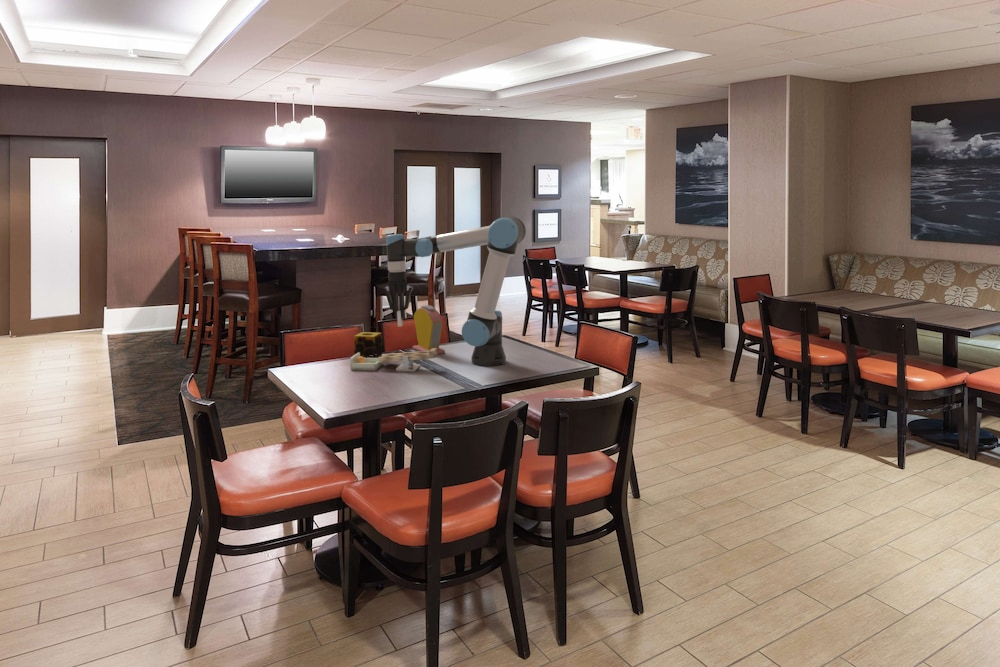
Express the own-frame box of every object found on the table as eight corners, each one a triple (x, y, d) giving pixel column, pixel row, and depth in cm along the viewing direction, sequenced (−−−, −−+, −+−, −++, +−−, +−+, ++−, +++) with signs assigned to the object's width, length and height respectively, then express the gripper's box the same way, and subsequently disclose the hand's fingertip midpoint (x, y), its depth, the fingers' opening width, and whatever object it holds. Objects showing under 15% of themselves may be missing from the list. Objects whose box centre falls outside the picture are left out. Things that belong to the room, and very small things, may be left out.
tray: (382, 364, 322) (382, 353, 321) (375, 370, 311) (375, 358, 310) (358, 363, 323) (358, 352, 322) (350, 369, 313) (349, 358, 312)
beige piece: (441, 354, 322) (439, 344, 321) (434, 360, 310) (433, 351, 309) (385, 358, 326) (383, 349, 325) (376, 365, 313) (375, 355, 313)
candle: (375, 358, 334) (374, 336, 332) (353, 357, 336) (353, 335, 334) (383, 353, 343) (382, 332, 342) (362, 352, 345) (361, 331, 344)
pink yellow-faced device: (447, 354, 341) (447, 308, 337) (429, 357, 336) (428, 309, 332) (427, 346, 360) (426, 302, 356) (409, 348, 355) (408, 303, 351)
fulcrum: (420, 366, 319) (419, 351, 318) (414, 371, 310) (414, 356, 308) (402, 365, 320) (401, 351, 319) (395, 370, 311) (395, 356, 310)
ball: (357, 356, 319) (360, 364, 319) (354, 358, 315) (357, 366, 316) (364, 354, 318) (367, 362, 319) (362, 356, 315) (365, 364, 315)
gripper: (414, 269, 319) (417, 324, 324) (384, 270, 321) (387, 324, 325) (409, 271, 312) (413, 327, 316) (379, 272, 314) (383, 327, 318)
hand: (400, 325), depth 321 cm, fingers closed
